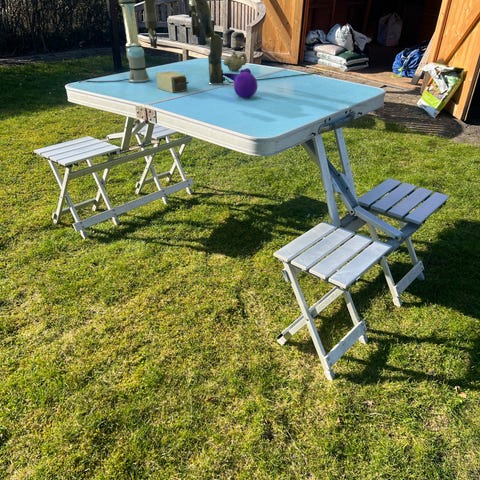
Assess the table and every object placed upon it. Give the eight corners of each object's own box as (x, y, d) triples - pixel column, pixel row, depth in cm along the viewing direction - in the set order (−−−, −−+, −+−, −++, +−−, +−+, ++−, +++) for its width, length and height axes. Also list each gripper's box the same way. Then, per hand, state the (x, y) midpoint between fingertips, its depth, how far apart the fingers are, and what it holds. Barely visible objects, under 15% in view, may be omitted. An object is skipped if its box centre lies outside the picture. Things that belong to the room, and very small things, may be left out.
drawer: (191, 90, 303) (190, 78, 299) (178, 92, 298) (177, 80, 294) (173, 85, 320) (171, 73, 315) (160, 87, 314) (159, 75, 310)
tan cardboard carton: (186, 90, 309) (185, 75, 304) (172, 92, 303) (171, 77, 298) (171, 85, 323) (170, 71, 317) (158, 88, 317) (156, 73, 312)
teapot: (227, 73, 359) (226, 53, 351) (220, 71, 367) (219, 51, 360) (250, 70, 368) (249, 51, 360) (242, 68, 376) (242, 49, 369)
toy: (243, 90, 304) (257, 103, 283) (218, 85, 297) (231, 99, 276) (249, 66, 296) (264, 78, 275) (224, 61, 289) (238, 73, 268)
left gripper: (202, 5, 328) (204, 37, 339) (195, 4, 349) (197, 34, 360) (192, 6, 326) (194, 38, 337) (186, 4, 347) (188, 34, 358)
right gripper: (159, 20, 281) (162, 48, 289) (154, 18, 293) (157, 45, 301) (147, 21, 279) (150, 49, 287) (142, 19, 290) (146, 46, 299)
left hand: (196, 36), depth 348 cm, fingers open, 13 cm apart
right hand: (153, 47), depth 294 cm, fingers open, 8 cm apart
